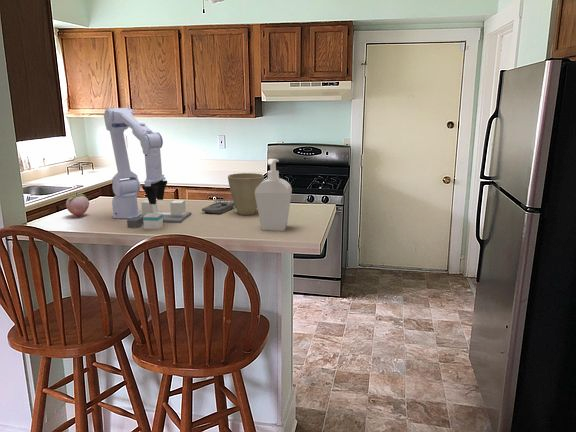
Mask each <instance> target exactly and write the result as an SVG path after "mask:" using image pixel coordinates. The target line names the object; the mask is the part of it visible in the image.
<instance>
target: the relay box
mask: <svg viewBox="0 0 576 432" xmlns="http://www.w3.org/2000/svg"><path fill="white" fill-rule="evenodd" d="M126 225H127V228H129V229H130V228H131V229H132V228H134V229H137V228H140V227H142V226H144V222H143V217H142V216H138V217H132V218H128V219H127V221H126Z"/></svg>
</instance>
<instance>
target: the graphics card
mask: <svg viewBox="0 0 576 432" xmlns="http://www.w3.org/2000/svg"><path fill="white" fill-rule="evenodd" d="M213 200H214V203H212V204H209V205H208V206H207V205H206V207H203V208H201V211H202V213H203V212H205V213H211V214H212V213H214V214H223V213H226V212H228V211H230V210H231V209H233V210H235V209H236V207H235V204H234V201H233V199H223V198H222V199H220V198H219V199H217V198H216V199H213Z"/></svg>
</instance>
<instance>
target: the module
mask: <svg viewBox="0 0 576 432" xmlns="http://www.w3.org/2000/svg"><path fill="white" fill-rule="evenodd" d="M162 217H163V215H162V213H148V214H146V215H144V216H143V222H144V224H143V229H144V230H159V229H161V228H162V227H164V223H163V218H162Z"/></svg>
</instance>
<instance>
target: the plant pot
mask: <svg viewBox="0 0 576 432" xmlns="http://www.w3.org/2000/svg"><path fill="white" fill-rule="evenodd" d="M227 179H228V187H229V190H230V195H231V197H232V200H233V201H234V204H235V207H236V212H237V214H239V215H244V216H248V215H249V216H251V215H254V214H256V211H258V208H257V203H256V198H255V190H256V188H257V187H258V185H259V184H260V183H262V182H263V181H264V174H261V173H256V172H254V173H252V172H240V173H232V174H229V175H227ZM233 201H232V202H233Z"/></svg>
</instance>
